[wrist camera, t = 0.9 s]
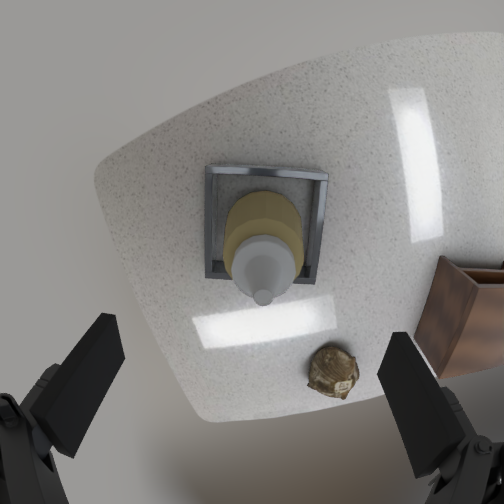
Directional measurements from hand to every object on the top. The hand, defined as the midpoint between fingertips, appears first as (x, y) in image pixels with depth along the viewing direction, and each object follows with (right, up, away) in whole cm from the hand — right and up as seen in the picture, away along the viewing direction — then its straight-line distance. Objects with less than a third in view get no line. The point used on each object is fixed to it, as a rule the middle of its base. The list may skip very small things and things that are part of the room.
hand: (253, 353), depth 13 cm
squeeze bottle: (+1, +8, +22) cm, 23 cm away
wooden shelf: (+34, -3, +25) cm, 42 cm away
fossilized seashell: (+12, -13, +30) cm, 34 cm away
